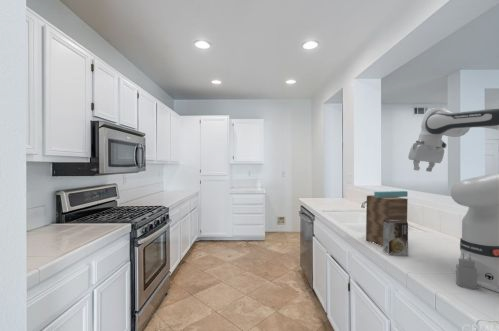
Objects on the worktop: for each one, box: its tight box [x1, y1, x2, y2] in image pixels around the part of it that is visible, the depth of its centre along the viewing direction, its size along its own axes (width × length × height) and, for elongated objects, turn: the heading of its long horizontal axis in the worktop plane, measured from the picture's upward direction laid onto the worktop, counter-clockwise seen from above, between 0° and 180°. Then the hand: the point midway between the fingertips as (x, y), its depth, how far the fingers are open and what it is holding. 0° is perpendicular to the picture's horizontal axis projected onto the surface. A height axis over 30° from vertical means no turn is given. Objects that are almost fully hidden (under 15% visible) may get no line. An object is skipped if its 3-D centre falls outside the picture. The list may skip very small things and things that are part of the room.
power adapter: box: [455, 253, 478, 291], centre depth 89 cm, size 3×5×12 cm, turn 62°
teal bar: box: [373, 190, 409, 198], centre depth 137 cm, size 3×21×3 cm, turn 108°
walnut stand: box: [365, 194, 409, 247], centre depth 136 cm, size 16×12×26 cm
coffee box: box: [382, 220, 409, 257], centre depth 122 cm, size 9×6×16 cm
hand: (422, 170), depth 118 cm, fingers open, 8 cm apart
